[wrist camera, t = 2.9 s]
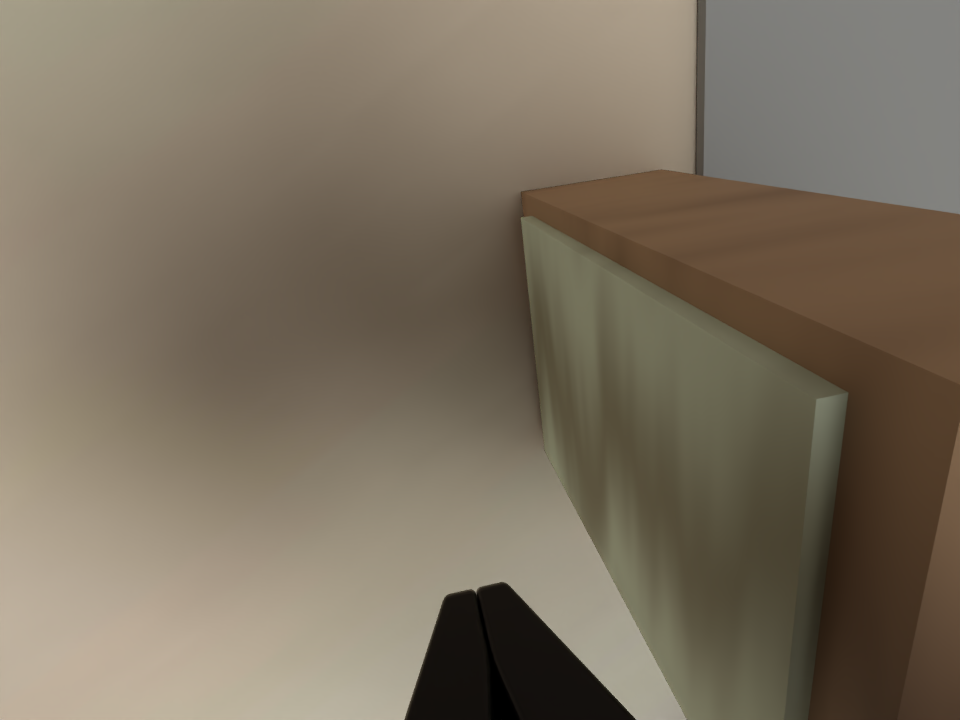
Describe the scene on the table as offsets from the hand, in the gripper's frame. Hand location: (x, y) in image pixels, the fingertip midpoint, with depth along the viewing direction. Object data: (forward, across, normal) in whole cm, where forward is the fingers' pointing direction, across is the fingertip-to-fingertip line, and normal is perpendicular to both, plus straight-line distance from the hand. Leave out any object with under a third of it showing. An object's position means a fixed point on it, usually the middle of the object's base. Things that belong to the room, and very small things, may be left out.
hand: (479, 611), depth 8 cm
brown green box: (+10, -5, 0) cm, 11 cm away
